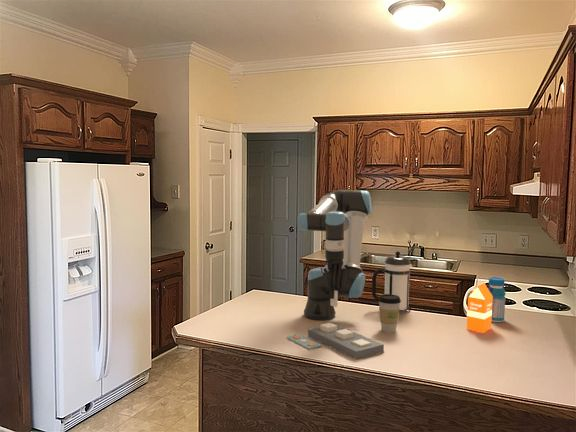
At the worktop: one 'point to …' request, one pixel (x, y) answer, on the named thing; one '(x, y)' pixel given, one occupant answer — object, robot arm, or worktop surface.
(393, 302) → the coffee cup
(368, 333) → the worktop surface
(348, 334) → the button middle
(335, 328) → the button left
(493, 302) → the beverage bottle
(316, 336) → the board
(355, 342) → the button right
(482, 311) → the orange juice
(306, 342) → the card
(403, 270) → the coffee press
